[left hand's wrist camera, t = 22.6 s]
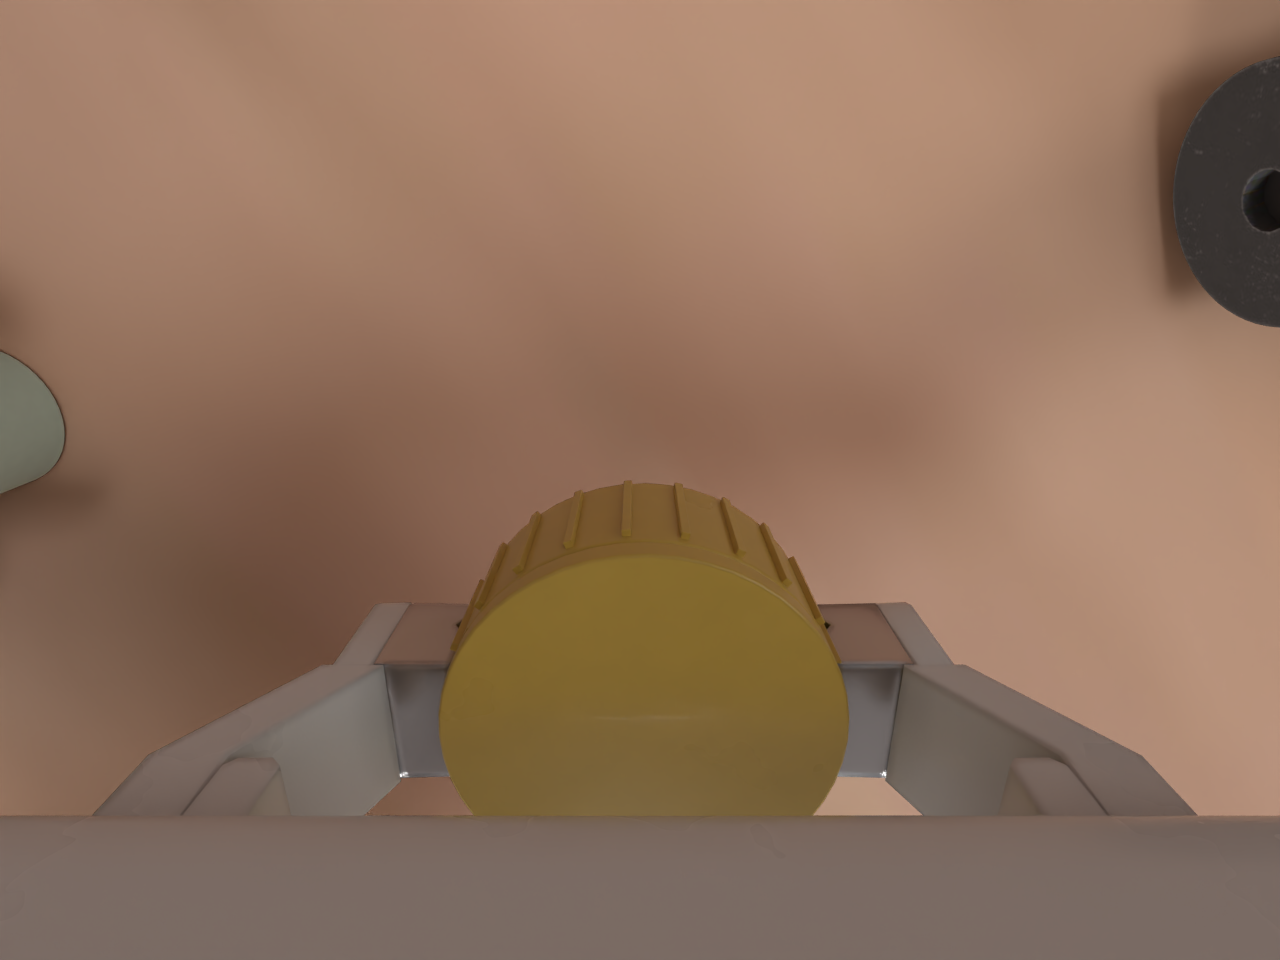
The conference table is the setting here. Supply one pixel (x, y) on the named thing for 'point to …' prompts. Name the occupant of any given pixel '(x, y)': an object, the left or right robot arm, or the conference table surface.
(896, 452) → the conference table surface
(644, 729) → the lid
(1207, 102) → the laser sight
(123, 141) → the conference table surface
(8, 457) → the jar
